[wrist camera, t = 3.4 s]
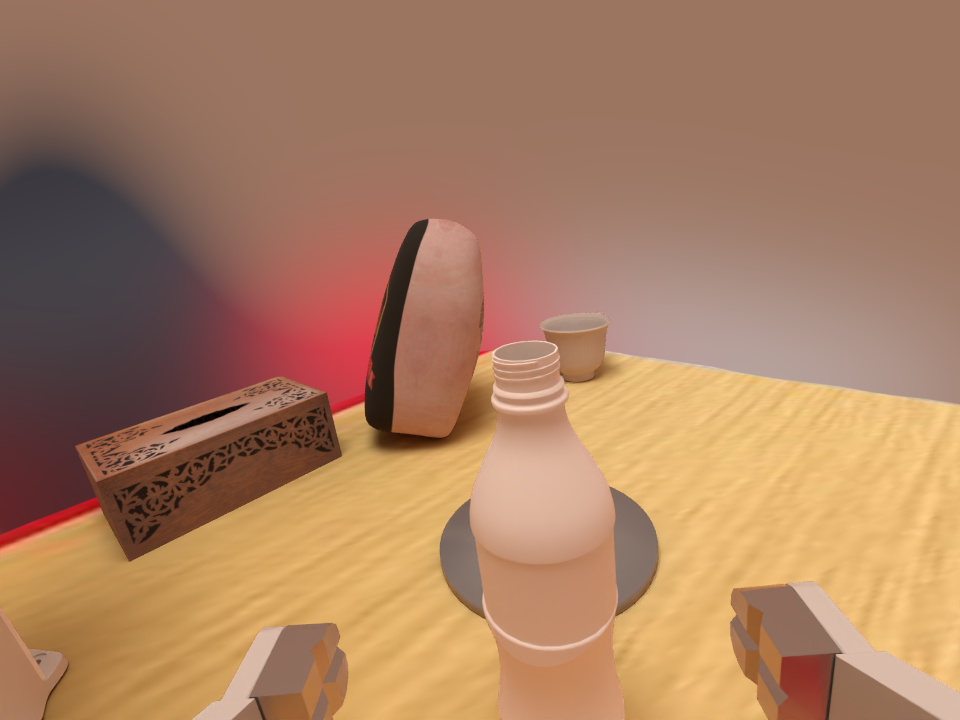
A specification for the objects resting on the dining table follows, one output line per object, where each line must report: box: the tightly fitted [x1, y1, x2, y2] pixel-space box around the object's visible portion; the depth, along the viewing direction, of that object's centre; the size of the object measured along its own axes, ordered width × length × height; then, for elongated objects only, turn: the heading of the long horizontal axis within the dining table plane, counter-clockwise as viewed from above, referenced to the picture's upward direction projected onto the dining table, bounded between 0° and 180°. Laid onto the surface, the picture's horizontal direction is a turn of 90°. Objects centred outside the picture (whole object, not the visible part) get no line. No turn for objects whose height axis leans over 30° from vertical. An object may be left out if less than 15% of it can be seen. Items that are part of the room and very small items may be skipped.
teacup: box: [540, 312, 611, 382], centre depth 86 cm, size 12×15×10 cm
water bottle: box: [469, 341, 625, 720], centre depth 26 cm, size 7×7×25 cm
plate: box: [440, 487, 658, 619], centre depth 46 cm, size 20×20×1 cm
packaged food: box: [365, 219, 484, 438], centre depth 72 cm, size 22×20×30 cm
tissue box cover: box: [75, 376, 342, 562], centre depth 64 cm, size 26×14×10 cm, turn 136°
